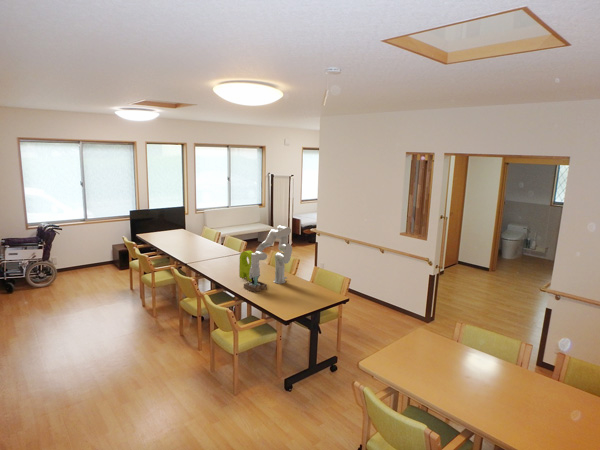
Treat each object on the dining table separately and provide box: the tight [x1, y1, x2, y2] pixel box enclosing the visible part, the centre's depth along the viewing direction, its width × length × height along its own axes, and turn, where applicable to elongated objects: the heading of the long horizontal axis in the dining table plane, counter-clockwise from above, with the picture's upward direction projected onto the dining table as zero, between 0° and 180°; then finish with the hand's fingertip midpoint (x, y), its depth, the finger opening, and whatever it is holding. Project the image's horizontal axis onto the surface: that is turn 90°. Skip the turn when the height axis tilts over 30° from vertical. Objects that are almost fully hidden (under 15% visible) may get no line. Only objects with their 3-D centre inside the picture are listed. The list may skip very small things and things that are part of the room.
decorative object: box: [238, 250, 254, 282], centre depth 397 cm, size 20×7×30 cm, turn 47°
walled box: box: [243, 280, 268, 293], centre depth 371 cm, size 16×16×4 cm
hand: (254, 283), depth 371 cm, fingers closed on connector, 3 cm apart
